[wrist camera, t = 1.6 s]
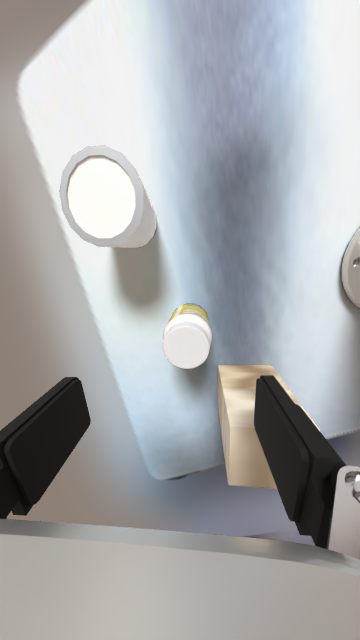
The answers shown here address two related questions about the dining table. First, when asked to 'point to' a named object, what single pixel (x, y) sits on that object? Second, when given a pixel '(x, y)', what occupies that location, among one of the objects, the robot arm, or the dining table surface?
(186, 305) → the supplement bottle
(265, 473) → the top block
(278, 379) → the bottom block
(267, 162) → the dining table surface
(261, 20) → the dining table surface
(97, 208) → the white cup
